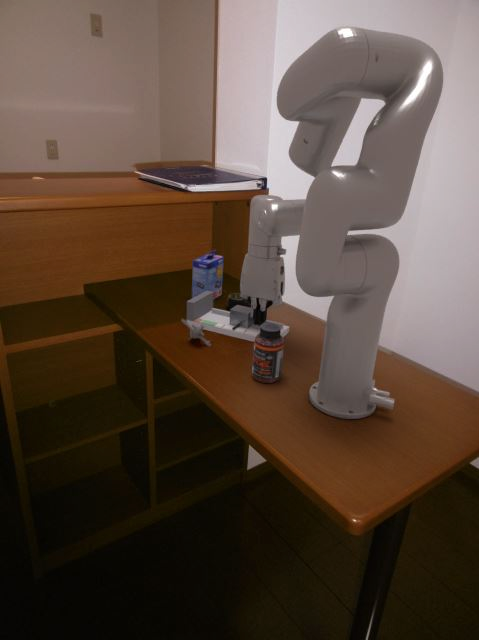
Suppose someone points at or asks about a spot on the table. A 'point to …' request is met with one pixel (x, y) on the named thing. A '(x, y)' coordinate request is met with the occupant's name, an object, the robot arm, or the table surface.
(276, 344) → the supplement bottle
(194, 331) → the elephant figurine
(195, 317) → the board
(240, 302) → the tape measure
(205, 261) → the ink cartridge box
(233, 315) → the block
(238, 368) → the table surface
